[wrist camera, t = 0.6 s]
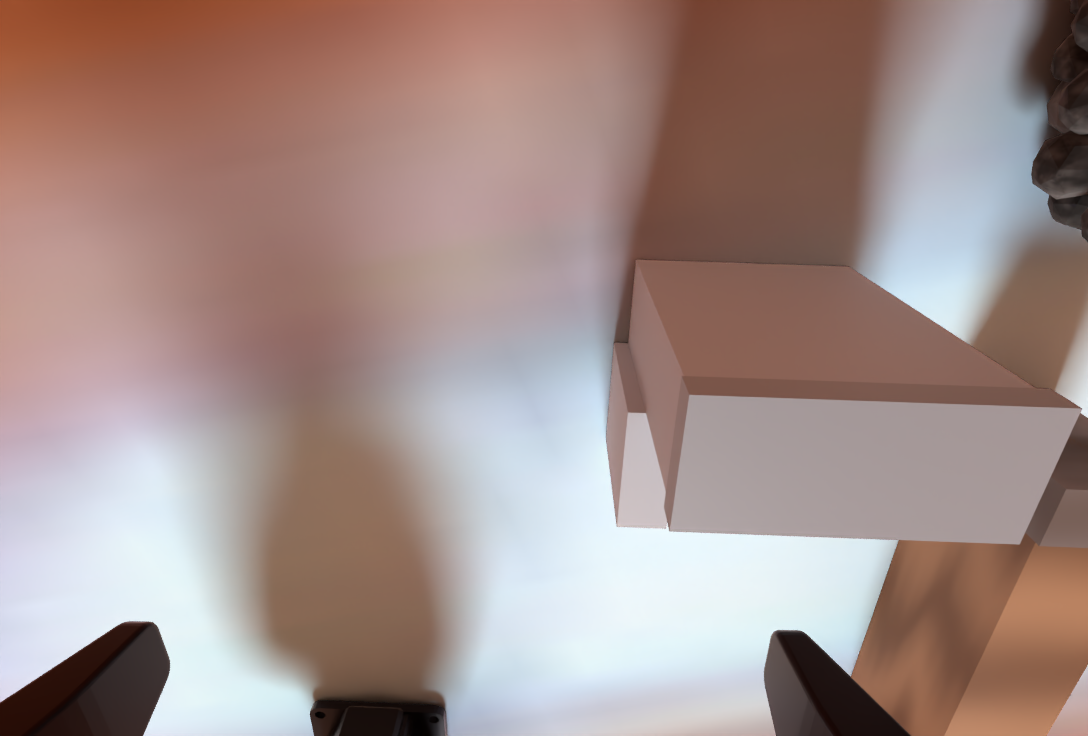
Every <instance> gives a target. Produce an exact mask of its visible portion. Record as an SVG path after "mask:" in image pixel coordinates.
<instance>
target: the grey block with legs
mask: <svg viewBox="0 0 1088 736" xmlns="http://www.w3.org/2000/svg"><path fill="white" fill-rule="evenodd" d="M1081 410H1082V408H1080V407H1079V406H1077V405H1076V404H1074V403H1072V402H1071V401H1069V400H1068V399H1066V398H1065V397H1063V396H1061V395H1060V394H1058V393H1057V392H1055V391H1053V390H1052V389H1045V388H1035V387H1033V386H1032V385H1030V384H1029V383H1027V382H1026V381H1024V380H1023V379H1021V378H1020V377H1018V376H1017V375H1015V374H1013V373H1012V372H1010V371H1009V370H1007V369H1006V368H1004V367H1003V366H1001V365H1000V364H998V363H997V362H995V361H993V360H992V359H990V358H989V357H987V356H986V355H984V354H983V353H981V352H980V351H978V350H977V349H975V348H973V347H972V346H970V345H969V344H967V343H966V342H964V341H963V340H961V339H960V338H958V337H957V336H955V335H953V334H952V333H950V332H949V331H947V330H946V329H944V328H943V327H941V326H940V325H938V324H937V323H935V322H933V321H932V320H930V319H929V318H927V317H926V316H924V315H923V314H921V313H920V312H918V311H917V310H915V309H913V308H912V307H910V306H909V305H907V304H906V303H904V302H903V301H901V300H900V299H898V298H897V297H895V296H893V295H892V294H890V293H889V292H887V291H886V290H884V289H883V288H881V287H880V286H878V285H877V284H875V283H873V282H872V281H870V280H869V279H867V278H866V277H864V276H863V275H861V274H860V273H858V272H857V271H855V270H853V269H852V268H850V267H849V266H822V265H791V264H760V263H729V262H698V261H667V260H637V259H636V263H635V274H634V285H633V296H632V307H631V318H630V328H629V339H628V343H614V348H613V360H612V372H611V385H610V397H609V409H608V421H607V434H606V444H607V452H608V460H609V468H610V476H611V484H612V492H613V500H614V508H615V516H616V524H617V527H637V528H664V529H666V525H667V522H668V527H669V531H674V532H700V533H727V534H753V535H780V536H806V537H833V538H859V539H886V540H913V541H939V542H966V543H992V544H1019V545H1020V543H1021V541H1022V538H1023V536H1024V534H1025V532H1026V530H1027V527H1028V525H1029V523H1030V521H1031V519H1032V517H1033V514H1034V512H1035V510H1036V508H1037V506H1038V503H1039V501H1040V499H1041V497H1042V495H1043V493H1044V490H1045V488H1046V486H1047V484H1048V482H1049V480H1050V477H1051V475H1052V473H1053V471H1054V469H1055V466H1056V464H1057V462H1058V460H1059V458H1060V456H1061V453H1062V451H1063V449H1064V447H1065V445H1066V442H1067V440H1068V438H1069V436H1070V434H1071V432H1072V429H1073V427H1074V425H1075V423H1076V421H1077V419H1078V416H1079V414H1080V412H1081Z"/></svg>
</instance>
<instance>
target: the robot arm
mask: <svg viewBox="0 0 1088 736" xmlns="http://www.w3.org/2000/svg"><path fill="white" fill-rule="evenodd" d="M169 671H170V660H169V656H168V654H167V651H166V648H165V645H164V643H163V640H162V637H161V634H160V631H159V629H158V627H157V625H155V624H154V623H153V622H138V621H129V622H124V623H122V624H120V625H118V626H116V627H115V628H113V629H112V630H110V631H109V632H107V633H106V634H104V635H102V636H101V637H99V638H98V639H96V640H95V641H93V642H92V643H90V644H89V645H87V646H86V647H84V648H83V649H81V650H80V651H78V652H77V653H75V654H74V655H72V656H70V657H69V658H67V659H66V660H64V661H63V662H61V663H60V664H58V665H57V666H55V667H54V668H52V669H51V670H49V671H48V672H46V673H45V674H43V675H42V676H40V677H39V678H37V679H35V680H34V681H32V682H31V683H29V684H28V685H26V686H25V687H23V688H22V689H20V690H19V691H17V692H16V693H14V694H13V695H11V696H10V697H8V698H7V699H5V700H3V701H2V702H0V736H143V734H144V732H145V730H146V727H147V725H148V723H149V721H150V718H151V716H152V714H153V711H154V709H155V707H156V704H157V702H158V700H159V697H160V695H161V693H162V690H163V688H164V686H165V683H166V681H167V678H168V675H169ZM764 682H765V689H766V693H767V698H768V702H769V706H770V711H771V715H772V720H773V724H774V729H775V733H776V736H911V735H910V734H909V733H908V732H907V731H906V730H905V729H904V728H903V727H902V726H901V725H900V724H899V723H898V722H897V721H896V720H895V719H894V718H893V717H892V716H891V715H890V714H889V713H887V712H886V711H885V710H884V709H883V708H882V707H881V706H880V705H879V704H878V703H877V702H876V701H875V700H874V699H873V698H872V697H871V696H870V695H869V694H868V693H867V692H866V691H865V690H864V689H863V688H862V687H861V686H860V685H859V684H858V683H857V682H855V681H854V680H853V679H852V678H851V677H850V676H849V675H848V674H847V673H846V672H845V671H844V670H843V669H842V668H841V667H840V666H839V665H838V664H837V663H836V662H835V661H834V660H833V659H832V658H831V657H830V656H829V655H828V654H827V653H826V652H825V651H824V650H822V649H821V648H820V647H819V646H818V645H817V644H816V643H815V642H814V641H813V640H812V639H811V638H810V637H809V636H808V635H807V634H805V633H804V632H802V631H798V630H777V631H775V632H773V634H772V636H771V639H770V644H769V649H768V654H767V659H766V663H765V668H764ZM310 717H311V722H312V727H313V732H314V736H447V729H446V713H445V710H444V709H443V708H442V707H440V706H437V705H419V704H395V703H370V702H346V701H317V702H315V703H314V704H313V706H312V709H311V711H310Z"/></svg>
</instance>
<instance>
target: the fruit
mask: <svg viewBox="0 0 1088 736" xmlns="http://www.w3.org/2000/svg"><path fill="white" fill-rule="evenodd" d="M1070 12H1071V13H1073V14H1074V15H1076V16H1075V18H1074V20H1073V21H1072V23H1071V25H1070V26H1071V30H1072V34H1070V35H1069V36H1068V37H1067V38H1066V39H1065V40H1064V42H1063V43H1062V44H1061V45H1060V46H1059V47H1058V49H1057V50H1056V51H1055V54H1054V57H1053V60H1052V64H1051V67H1050V69H1051V72H1052V74H1053V77H1054V78H1056V79H1058V80H1061V81H1062V82H1061V83H1060V84H1059V85H1058V86H1057V88H1056V90H1055V91H1054V93H1053V95H1052V97H1051V99H1050V100H1049V102H1048V104H1047V111H1048V120H1049V124H1050V125H1051V126H1052V127H1054V128H1055V129H1056V130H1058V131H1059V132H1060V133H1062V134H1061V135H1058V136H1056V137H1053V138H1051V139H1048V140H1046V141H1045V142H1044V144H1043V146H1042V147H1041V149H1040V151H1039V152H1038V154H1037V156H1036V158H1035V159H1034V161H1033V167H1032V173H1031V175H1032V182H1033V184H1034V185H1036V186H1037V187H1039V188H1040V189H1042V190H1043V191H1045V192H1046V193H1047V194H1049V199H1048V206H1049V209H1050V212H1051V215H1052V218H1053V219H1054V220H1055V221H1057V222H1060V223H1062V224H1064V225H1068V226H1071V227H1074V228H1078V229H1081V230H1082V237H1083V238H1084V239H1085V240H1086V241H1087V242H1088V0H1071V6H1070Z"/></svg>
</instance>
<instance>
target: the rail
mask: <svg viewBox="0 0 1088 736" xmlns="http://www.w3.org/2000/svg"><path fill="white" fill-rule="evenodd" d="M1087 665H1088V418H1087V417H1085V416H1084V415H1082V414H1081V413H1080V414H1079V416H1078V419H1077V421H1076V423H1075V425H1074V427H1073V429H1072V432H1071V434H1070V436H1069V438H1068V440H1067V442H1066V445H1065V447H1064V449H1063V451H1062V453H1061V456H1060V458H1059V460H1058V462H1057V464H1056V466H1055V469H1054V471H1053V473H1052V475H1051V477H1050V480H1049V482H1048V484H1047V486H1046V488H1045V490H1044V493H1043V495H1042V497H1041V499H1040V501H1039V503H1038V506H1037V508H1036V510H1035V512H1034V514H1033V517H1032V519H1031V521H1030V523H1029V525H1028V527H1027V530H1026V532H1025V534H1024V536H1023V538H1022V541H1021V543H1020V545H1019V544H992V543H966V542H939V541H913V540H899V541H898V544H897V547H896V550H895V553H894V556H893V558H892V561H891V564H890V567H889V570H888V573H887V576H886V578H885V581H884V584H883V587H882V590H881V593H880V596H879V598H878V601H877V604H876V607H875V610H874V613H873V616H872V618H871V621H870V624H869V627H868V630H867V633H866V636H865V638H864V641H863V644H862V647H861V650H860V653H859V656H858V658H857V661H856V664H855V667H854V670H853V673H852V676H851V678H852V679H853V680H854V681H855V682H857V683H858V684H859V685H860V686H861V687H862V688H863V689H864V690H865V691H866V692H867V693H868V694H869V695H870V696H871V697H872V698H873V699H874V700H875V701H876V702H877V703H878V704H879V705H880V706H881V707H882V708H883V709H884V710H885V711H886V712H887V713H889V714H890V715H891V716H892V717H893V718H894V719H895V720H896V721H897V722H898V723H899V724H900V725H901V726H902V727H903V728H904V729H905V730H906V731H907V732H908V733H909V734H910V735H911V736H1046V735H1047V734H1048V732H1049V730H1050V728H1051V727H1052V725H1053V723H1054V722H1055V720H1056V718H1057V716H1058V715H1059V713H1060V711H1061V710H1062V708H1063V706H1064V705H1065V703H1066V701H1067V699H1068V698H1069V696H1070V694H1071V693H1072V691H1073V689H1074V687H1075V686H1076V684H1077V682H1078V681H1079V679H1080V677H1081V675H1082V674H1083V672H1084V670H1085V669H1086V667H1087Z"/></svg>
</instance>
